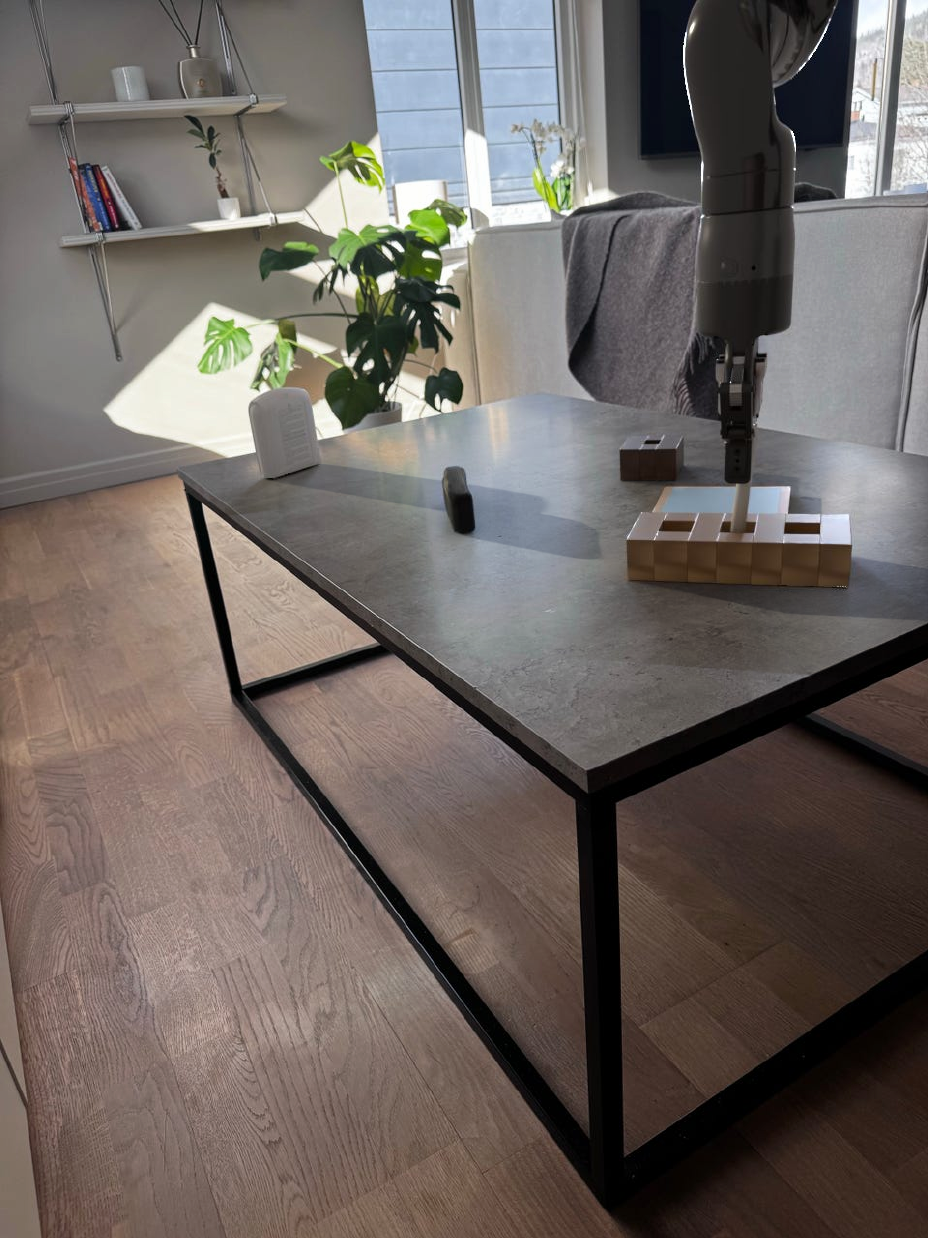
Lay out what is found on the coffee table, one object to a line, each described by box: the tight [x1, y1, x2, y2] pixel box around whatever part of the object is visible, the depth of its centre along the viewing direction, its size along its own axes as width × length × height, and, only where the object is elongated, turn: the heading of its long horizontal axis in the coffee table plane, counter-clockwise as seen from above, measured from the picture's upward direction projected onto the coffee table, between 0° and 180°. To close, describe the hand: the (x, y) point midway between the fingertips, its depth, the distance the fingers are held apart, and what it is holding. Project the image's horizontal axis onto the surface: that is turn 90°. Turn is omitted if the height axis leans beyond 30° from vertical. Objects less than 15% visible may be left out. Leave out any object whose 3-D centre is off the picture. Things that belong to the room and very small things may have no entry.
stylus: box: [730, 424, 759, 533], centre depth 79 cm, size 1×1×12 cm
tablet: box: [652, 486, 792, 514], centre depth 95 cm, size 14×18×1 cm
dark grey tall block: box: [441, 465, 476, 533], centre depth 105 cm, size 5×3×15 cm
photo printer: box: [247, 386, 322, 479], centre depth 132 cm, size 10×4×12 cm, turn 140°
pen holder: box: [625, 511, 853, 588], centre depth 82 cm, size 19×8×4 cm, turn 70°
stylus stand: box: [618, 434, 685, 481], centre depth 113 cm, size 7×7×4 cm
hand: (738, 478), depth 79 cm, fingers closed on stylus, 1 cm apart
